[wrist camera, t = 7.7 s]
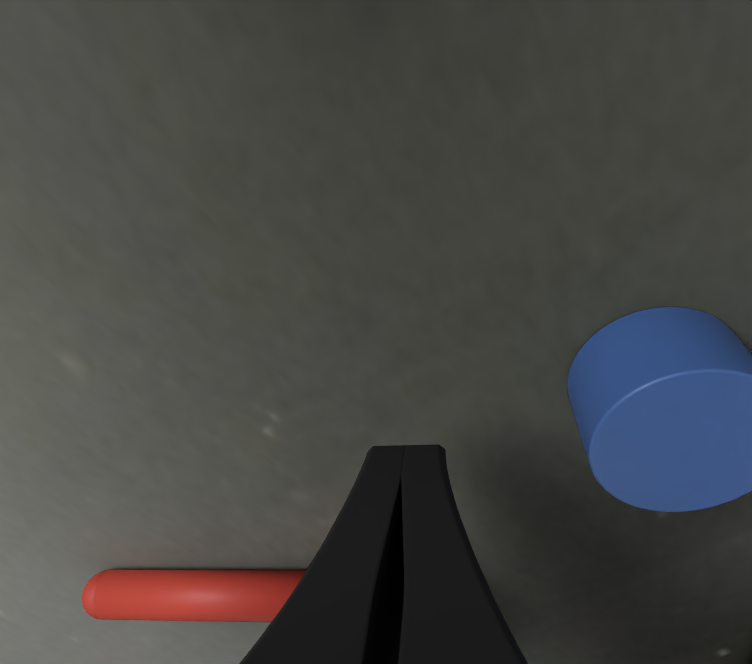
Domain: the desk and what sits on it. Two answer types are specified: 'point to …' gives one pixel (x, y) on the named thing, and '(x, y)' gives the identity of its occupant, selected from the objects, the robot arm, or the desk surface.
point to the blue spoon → (666, 409)
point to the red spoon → (189, 594)
